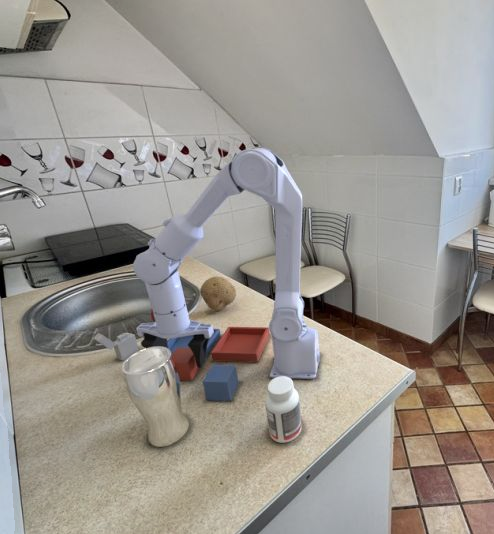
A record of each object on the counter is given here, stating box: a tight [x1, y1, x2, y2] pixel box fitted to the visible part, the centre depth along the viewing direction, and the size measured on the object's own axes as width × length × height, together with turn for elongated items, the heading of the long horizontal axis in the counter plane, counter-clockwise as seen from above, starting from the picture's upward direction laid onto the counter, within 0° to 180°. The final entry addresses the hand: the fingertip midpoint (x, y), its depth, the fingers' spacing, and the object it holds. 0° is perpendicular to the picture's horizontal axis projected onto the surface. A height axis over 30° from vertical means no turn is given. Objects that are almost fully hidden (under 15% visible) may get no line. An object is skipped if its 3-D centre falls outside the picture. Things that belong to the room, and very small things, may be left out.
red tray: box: [210, 326, 271, 363], centre depth 75 cm, size 10×10×2 cm
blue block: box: [202, 364, 240, 402], centre depth 61 cm, size 5×5×5 cm
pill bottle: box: [264, 376, 302, 444], centre depth 52 cm, size 5×5×10 cm
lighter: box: [92, 332, 140, 361], centre depth 71 cm, size 7×2×8 cm, turn 154°
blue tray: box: [167, 328, 222, 359], centre depth 75 cm, size 10×10×2 cm
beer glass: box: [121, 346, 190, 448], centre depth 51 cm, size 7×7×15 cm
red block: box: [172, 348, 201, 381], centre depth 67 cm, size 5×5×5 cm
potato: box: [199, 276, 237, 312], centre depth 90 cm, size 9×9×10 cm
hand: (184, 364), depth 67 cm, fingers open, 7 cm apart
